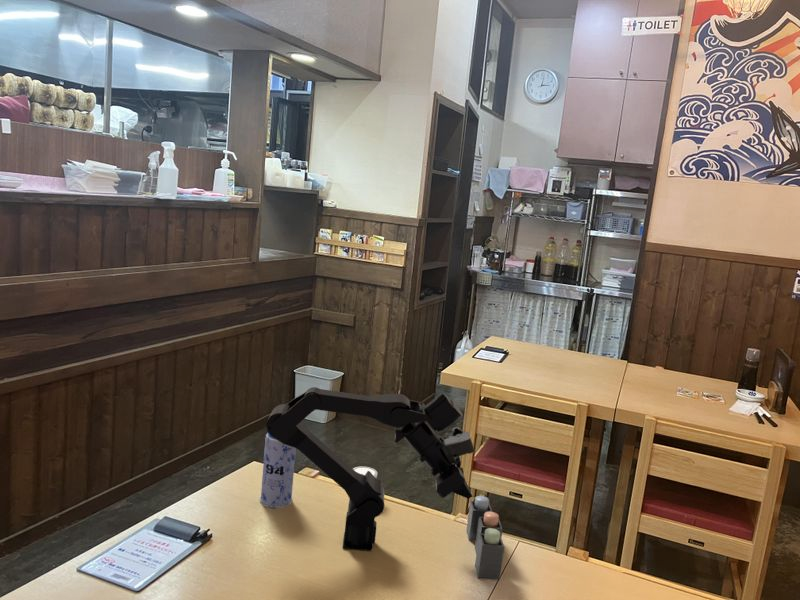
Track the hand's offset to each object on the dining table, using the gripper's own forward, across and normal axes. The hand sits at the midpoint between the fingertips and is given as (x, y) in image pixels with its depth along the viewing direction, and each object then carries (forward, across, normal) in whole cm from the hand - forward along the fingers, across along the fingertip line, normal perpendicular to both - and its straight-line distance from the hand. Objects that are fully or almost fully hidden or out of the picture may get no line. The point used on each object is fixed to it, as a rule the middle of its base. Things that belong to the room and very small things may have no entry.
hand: (469, 495), depth 141 cm
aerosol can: (-22, +16, +41) cm, 49 cm away
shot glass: (-7, +22, +26) cm, 35 cm away
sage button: (+8, -8, +2) cm, 11 cm away
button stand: (+13, 0, +6) cm, 14 cm away
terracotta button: (+8, 0, +1) cm, 8 cm away
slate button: (+8, +8, +2) cm, 11 cm away
